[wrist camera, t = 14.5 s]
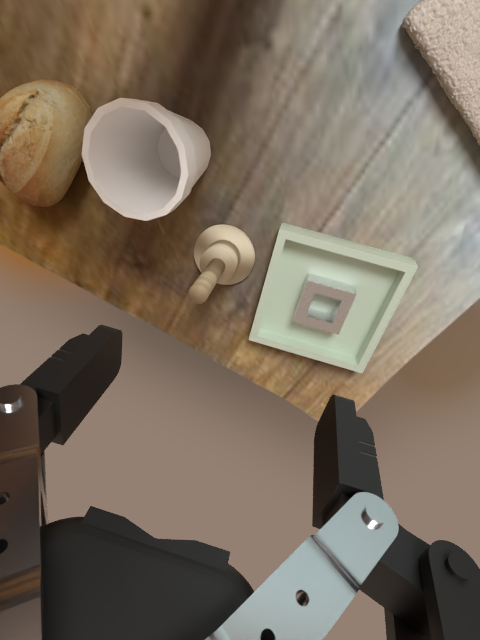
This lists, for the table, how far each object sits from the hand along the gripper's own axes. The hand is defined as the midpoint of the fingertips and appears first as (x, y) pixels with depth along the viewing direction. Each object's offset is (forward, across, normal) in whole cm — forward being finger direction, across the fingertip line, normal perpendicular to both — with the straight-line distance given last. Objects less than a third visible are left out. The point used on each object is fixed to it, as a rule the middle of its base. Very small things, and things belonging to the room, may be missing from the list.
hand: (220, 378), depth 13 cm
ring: (+32, -8, +11) cm, 35 cm away
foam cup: (+33, +13, -2) cm, 36 cm away
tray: (+33, -8, +11) cm, 36 cm away
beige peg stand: (+33, +6, +9) cm, 35 cm away
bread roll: (+33, +29, +1) cm, 44 cm away
